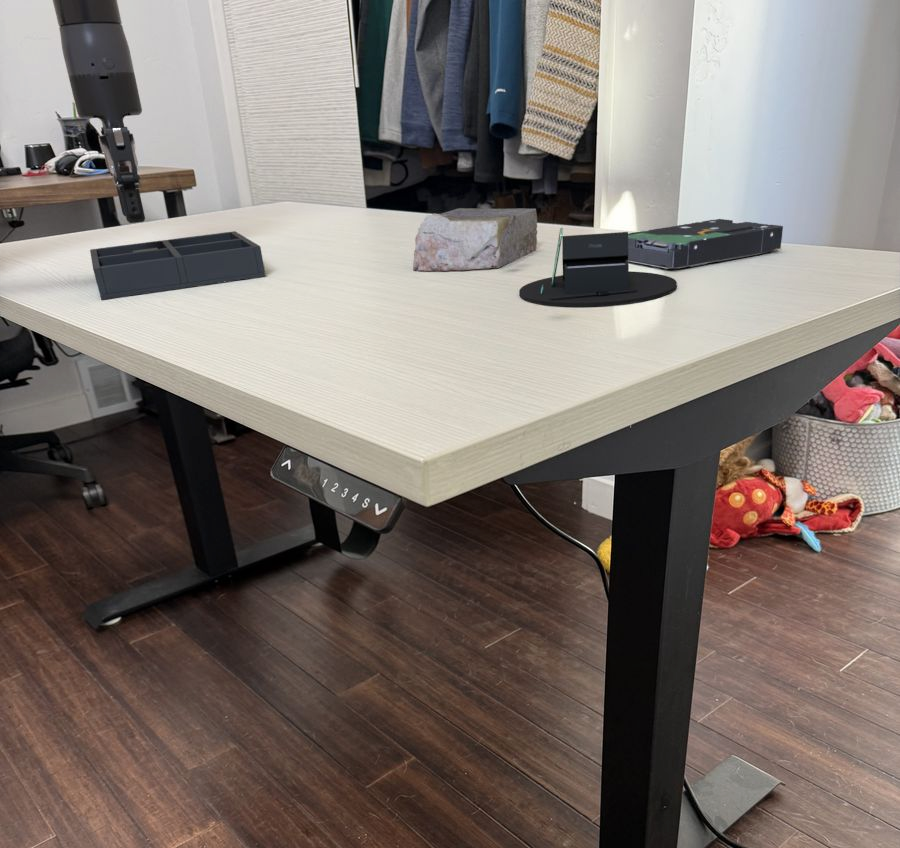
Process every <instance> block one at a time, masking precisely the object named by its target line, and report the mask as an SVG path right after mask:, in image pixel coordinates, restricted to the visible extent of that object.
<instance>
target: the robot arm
mask: <svg viewBox="0 0 900 848" xmlns="http://www.w3.org/2000/svg"><path fill="white" fill-rule="evenodd" d="M52 5H53V8H54V12H55V16H56V20H57V24H58V27H59V28H58V30H59V34H60V35H59V36H60V44H61V49H62V50H61V51H62V56H63V59H64V64H65V68H66V72H67V75H68V80H69V84H70V89H71V93H72V97H73V101H74V105H75V109H76V113H77V115H78V117H79V118H80V119H98V120H99V121H101V124H102V126H101V129H100V135H98V136H97V137H98V142H99V146H100V149H101V152H103V155H104V159H105V164H106V168H107V171H109V172H110V176H111V179H112V182H113V183H114V185H115V188H116V191H117V196H118V200H119V205H120V209H121V214H122V215H123V216H124V217H125V220H126V221H127V222H128V223H129V224H136V223H143V222H145V221H146V216H145V211H144V207H143V202H142V198H141V193H140V189H139V188H140V185H141V182H140V180H141V178H140V175H139V174H138V172H139V169H140V167H139V162H138V161H139V160H138V158H137V153H136V142H135V138H134V133H130V130H129V128H128V126H125V122H124V118H125V117H130V116H132V117H133V116H140V115H141V114H142V113H143V108H142V102H141V99H140V93H139V89H138V84H137V78H136V74H135V70H134V64H133V59H132V55H131V50H130V46H129V44H128V40H127V37H126V33H125V30H124V26H123V25H122V24H123V22H122V17H121V13H120V9H119V3H118V0H52Z"/></svg>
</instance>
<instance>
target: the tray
mask: <svg viewBox="0 0 900 848" xmlns="http://www.w3.org/2000/svg"><path fill="white" fill-rule="evenodd" d="M151 248H158V249H156V250H148V251H141V252H133V251H136V250H143V249H151ZM89 253H90V258H91V265H92V270H93V275H94V278H95V282H96V285H97V289H98V293H99V295H100V296H99V297H100V299H101V301H103V300H104V301H105V300H110V299H117V298H123V297H133V296H139V295H146V294H152V293H151V292H153V293H159V292H158V291H160V292H166V291H165V290H167V291H172V290H171V289H174V290H180V289H179V288H182V289H186V288H185V287H189V288H193V287H192V286H196V287H199V286H198V285H203V286H206V285H205V284H210V285H213V284H212V283H217V284H219V283H218V282H224V281H231V282H233V281H232V280H238V281H241V280H240V279H245V280H249V279H248V278H252V279H255V278H254V277H259V278H265V277H266V270H265V265H264V264H265V263H264V260H263V259H264V258H263V253H262V248H261V245H259V244H257V243H255V242H254V241H252V240H251V239H249V238H248V237H246V236H244V235H242V234H240V233H239V232H237V231H236V230H233V231H226V232H218V233H209V234H202V235H194V236H186V237H179V238H178V237H177V238H171V239H170V238H169V239H163V240H155V241H147V242H139V243H138V242H137V243H131V244H130V243H129V244H123V245H115V246H106V247H98V248H91V249H90V250H89ZM264 276H265V277H264ZM224 283H225V282H224ZM145 293H146V294H145Z"/></svg>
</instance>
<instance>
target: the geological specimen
mask: <svg viewBox="0 0 900 848" xmlns="http://www.w3.org/2000/svg"><path fill="white" fill-rule="evenodd" d="M537 228H538V214H537V208H525V207H524V208H523V207H522V208H521V207H520V208H518V207H517V208H489V207H487V208H485V207H484V208H483V207H482V208H480V207H479V208H473V207H472V208H470V207H469V208H465V207H464V208H462V207H459V208H455V209H452V210H449V211H445V212H442V213H437V214H436V213H435V212H434V213H432V214H428V215H426V216H425V217H424V219H423V221H422V222H421V223H420V226H419V227H418V230H417V234H416V235H415V238H414V241H415V247H414V251H413V256H414V257H413V262H412V270H413V271H414V272H421V273H425V272H433V271H435V272H436V271H438V272H439V271H440V272H448V271H470V270H482V269H484V270H485V269H486V270H487V269H499V268H501V267H504V266H506V265H508V264H511V263H514V262H515V261H517V260H520V259H522V258H524V257H526V256H528V255H530V254H532V253H534V252H536V250H537V244H538V229H537Z"/></svg>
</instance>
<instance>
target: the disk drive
mask: <svg viewBox="0 0 900 848" xmlns="http://www.w3.org/2000/svg"><path fill="white" fill-rule="evenodd" d="M733 221H734V220H733V219H724V218H717V219H716V218H715V219H709V220H703V221H696V222H691V223H684V224H679V225H673V226H668V227H661V228H659V227H658V228H655V229H654V228H653V229H648V230H641V231H635V232H628V262H631V263H635V264H640V265H646V266H651V267H655V268H656V267H657V268H663V269H666V270H667V269H683V268H687V267H692V268H693V267H699V266H704V265H707V264H710V263H715V262H724V261H731V260H737V259H742V258H747V257H752V256H759V255H762V254H764V255H765V254H766V253H769V252H774V251H775V250H779V249H781V248H782V240H783V230H784V226H783V225H778V224H768V223H758V222H752V221H744V222H733Z"/></svg>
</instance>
